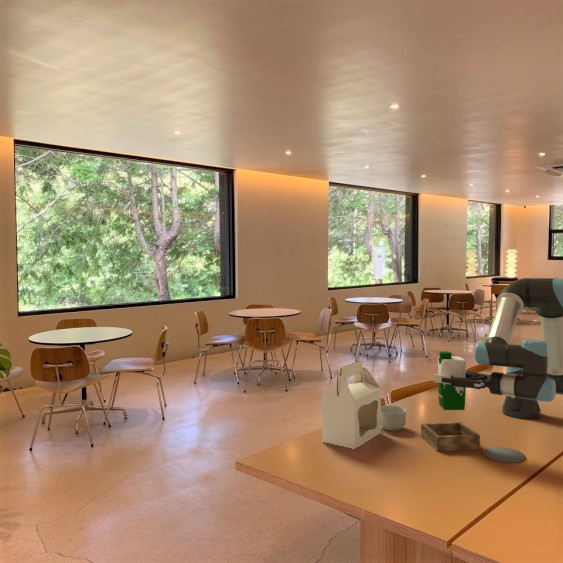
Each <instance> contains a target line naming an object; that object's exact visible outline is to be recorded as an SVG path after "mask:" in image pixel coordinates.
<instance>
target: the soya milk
mask: <svg viewBox="0 0 563 563" xmlns="http://www.w3.org/2000/svg"><path fill="white" fill-rule="evenodd" d="M466 363H467V362H466V359H465V358H463V357H461V356H459V355H458V356H453V355H452V352H451V351H440V352H439V356H437V374H438V375H445V376H451V375H452V376H453V377H455V378H465V372H466ZM437 386H438V387H437V388H438V389H437V391H438V405H439V406H440V407H441V408H442V409H443V410H444V411H465V409H466V408H465V407H466V388H465V387H454V386H453V387H452V386H451V384H444V383H438V384H437Z"/></svg>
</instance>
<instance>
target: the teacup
mask: <svg viewBox="0 0 563 563" xmlns="http://www.w3.org/2000/svg"><path fill="white" fill-rule="evenodd" d="M406 419H407V409H406V408H404V407H402V406H399V405H394V404H393V405H391V404H389V405H386V404H385V405H382V406H381V428H383V429H384V430H386V431H388V430H389V431H388V432H399V431H401V429H403V428H404V427H405V425H406Z"/></svg>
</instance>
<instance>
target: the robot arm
mask: <svg viewBox="0 0 563 563" xmlns="http://www.w3.org/2000/svg"><path fill="white" fill-rule="evenodd" d="M496 307H497V308H496V310H495V313H494V316H493V319H492V322H491V325H490V327H489V330H488V333H487V336H486V338H485V341H482V342H481V341H479V342H477V343H476V344H475V346H474V360H475V362H476V363H477V364H479V365H485V366H488V367H489V366H491V367H492V366H494V367H503V368H506V371H505V373H504V372H498V371H492V372H491V373H490V374H489V373H488V374H487V373H481V372H474V371H470V370H468V371H465V378H455V377H453V376H452V375H451V376H445V375H438V373H434V374H433V383H444V384H451V386H452V387H453V386H454V387H465V389H466V388H467V389H477V390H481V389H486V388H487V389H488V390H489V393H490V394H492V395H498V396H505V398H504V401H503V404H502V407H501V413H502V414H504V415H506V416H508V417H511V418H517V419H527V420H528V419H530V420H531V419H538V418H541V415H542V410H541V406H540V404H539V402H547V403H550V402H553V401H554V399H555V397H556V395H561V396H563V278H558V277H553V278H551V277H550V278H547V277H546V278H544V277H542V278H540V277H539V278H538V277H536V278H535V277H523V278H518V279H516V280H513V281H512V282H510V283H508V285H506V286H505V287H504V288H503V289H502V290H501V292H500V293H498V296H497V299H496ZM523 309H535V314H536V315H537V316H538V317H540V327H541V328H540V329H541V337H542V338H541V339H523V340H522V341H521V344H510V343H511V340H512V336H513V332H514V329H515V326H516V323H517V319H518V316H519V313H521V312H522V311H523Z"/></svg>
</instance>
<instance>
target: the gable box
mask: <svg viewBox="0 0 563 563" xmlns="http://www.w3.org/2000/svg"><path fill="white" fill-rule="evenodd" d="M336 371H337V374H338V375H337V376H335V377H334V378H333V380H332V381H331V382H330V384H329V386H328V387H327V389H326V390H325V391H324V393H323V394H322V396H321V403H322V405H321V408H322V410H321V411H322V412H321V416H322V418H321V420H322V421H321V423H322V424H321V425H322V429H321V430H322V431H321V432H322V443H323V442H327V443H332V444H336V445H341V446H345V447H349V448H352V449H351V450H356V449H358V448H359V447H360V446H362V445H364V444H366V443H367V442H369V441H371V440H372V439H373V438H375V437H377V436H378V435H380V434H381V433H382V426H381V404H382V402H381V401H382V399H381V398H382V397H381V396H382V395H381V394H382V393H381V388H380V386H379V385H378V383H377V381H376V380H375V378H374V377H373V376H372V374H371V373H370V371H369V370H368V369H367V368H366V367H364V363H363V361H362V360H358V361H356V362H352V363H350V364H347V365H344V366H341V367H340V369H337V370H336ZM353 376H354V377H353ZM351 377H353V379H352V382H351V383H350V384H348V382H347V380H346V379H348V378H351ZM365 442H366V443H365ZM327 443H326V444H327ZM336 445H335V446H336ZM345 447H344V448H345ZM357 447H358V448H357ZM349 448H348V449H349ZM355 448H356V449H355Z"/></svg>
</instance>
